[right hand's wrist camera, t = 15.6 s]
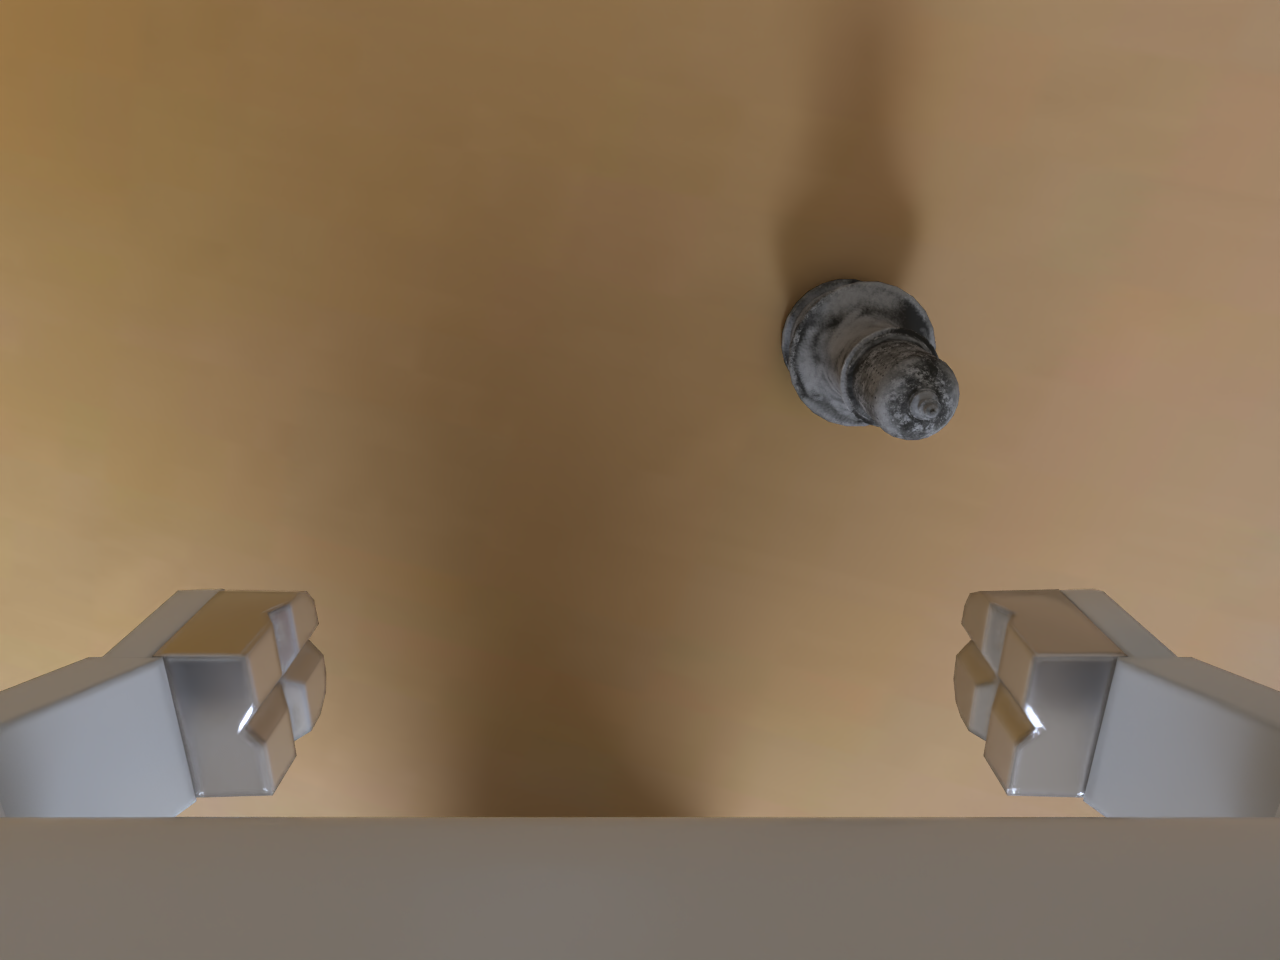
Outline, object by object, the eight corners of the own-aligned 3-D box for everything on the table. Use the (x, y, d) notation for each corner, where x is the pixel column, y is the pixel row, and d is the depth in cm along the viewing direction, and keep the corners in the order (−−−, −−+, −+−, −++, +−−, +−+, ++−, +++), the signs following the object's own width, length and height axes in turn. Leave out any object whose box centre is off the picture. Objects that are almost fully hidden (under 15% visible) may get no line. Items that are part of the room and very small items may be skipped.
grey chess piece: (752, 375, 36) (804, 462, 25) (811, 249, 34) (895, 284, 23) (868, 423, 37) (969, 529, 26) (932, 303, 35) (1070, 360, 24)
